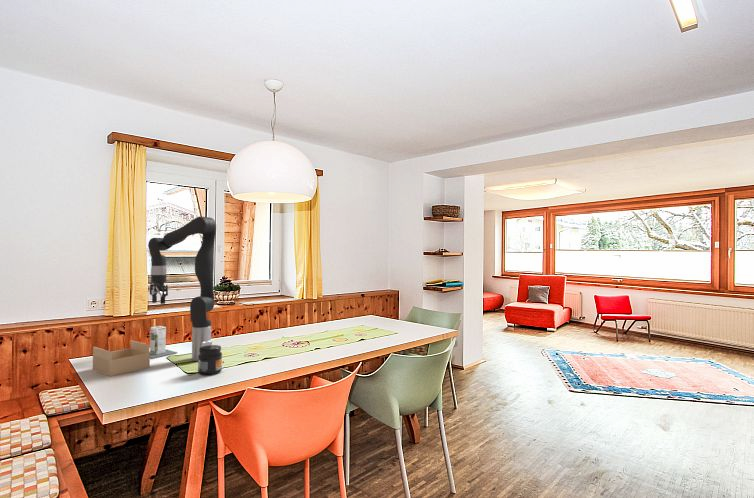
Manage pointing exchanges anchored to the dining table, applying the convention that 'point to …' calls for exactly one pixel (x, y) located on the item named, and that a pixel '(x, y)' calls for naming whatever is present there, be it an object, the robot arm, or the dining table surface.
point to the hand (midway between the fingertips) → (158, 303)
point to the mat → (162, 354)
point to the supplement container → (209, 360)
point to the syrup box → (157, 340)
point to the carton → (121, 359)
